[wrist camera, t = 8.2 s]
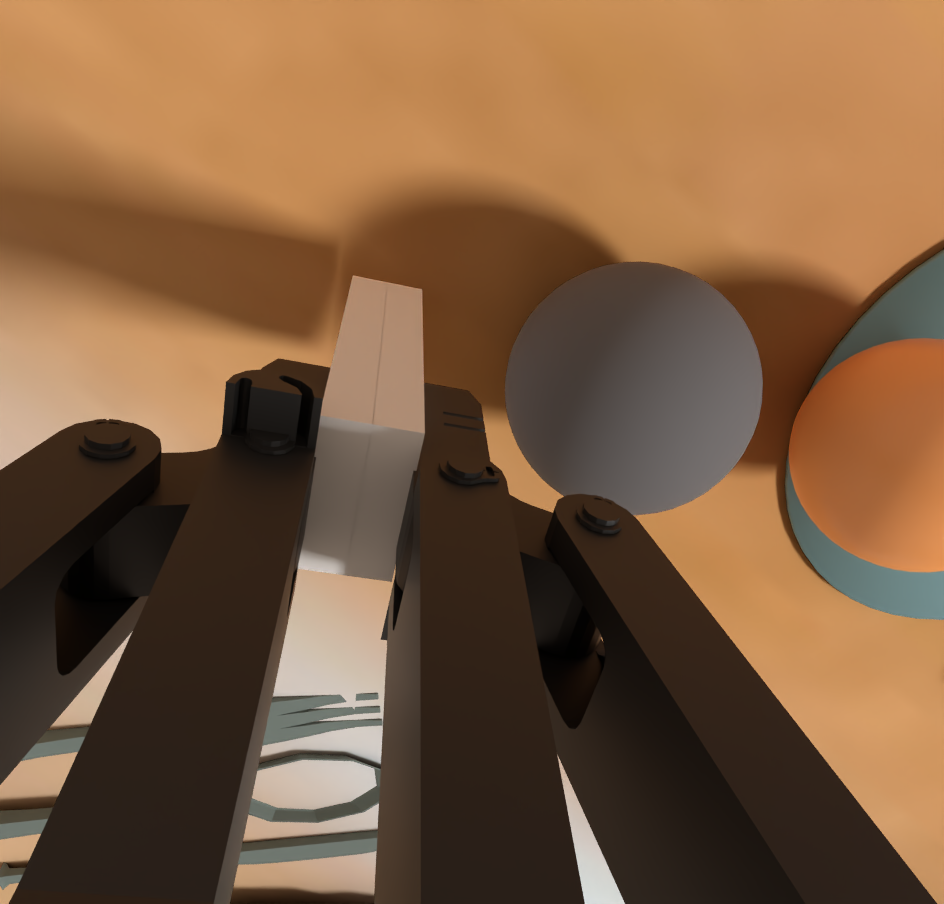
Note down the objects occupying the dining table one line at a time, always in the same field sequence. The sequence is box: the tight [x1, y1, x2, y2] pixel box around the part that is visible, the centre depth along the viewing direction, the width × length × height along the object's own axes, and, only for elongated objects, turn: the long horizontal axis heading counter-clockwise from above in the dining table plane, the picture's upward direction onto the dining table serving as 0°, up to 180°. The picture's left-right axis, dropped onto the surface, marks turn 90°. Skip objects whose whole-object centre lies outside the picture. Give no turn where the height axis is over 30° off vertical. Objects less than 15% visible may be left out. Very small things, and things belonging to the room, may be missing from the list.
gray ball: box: [505, 262, 763, 515], centre depth 17 cm, size 6×6×6 cm
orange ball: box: [789, 338, 944, 572], centre depth 18 cm, size 6×6×6 cm
